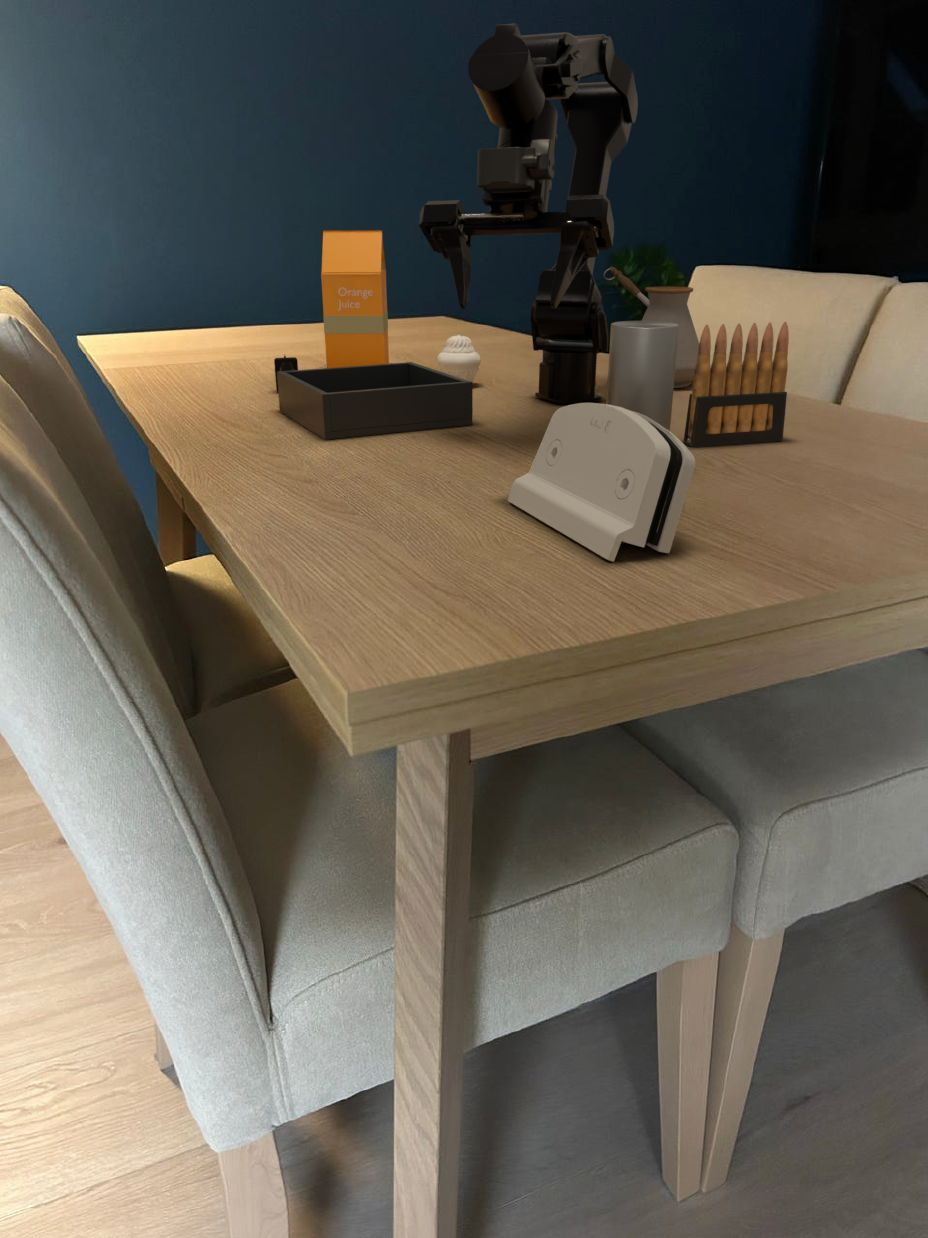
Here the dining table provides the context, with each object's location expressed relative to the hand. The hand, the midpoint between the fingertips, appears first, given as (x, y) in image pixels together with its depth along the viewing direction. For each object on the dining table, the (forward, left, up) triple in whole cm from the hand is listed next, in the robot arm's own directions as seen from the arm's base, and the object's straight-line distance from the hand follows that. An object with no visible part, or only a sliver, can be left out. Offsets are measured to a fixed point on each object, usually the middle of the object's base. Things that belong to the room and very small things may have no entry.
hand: (507, 306), depth 92 cm
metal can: (-7, +13, -14) cm, 20 cm away
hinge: (+6, +27, -14) cm, 31 cm away
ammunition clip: (-22, +9, -14) cm, 28 cm away
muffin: (-12, -36, -14) cm, 40 cm away
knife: (+10, -45, -14) cm, 48 cm away
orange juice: (-4, -55, -14) cm, 56 cm away
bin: (+7, -20, -14) cm, 25 cm away
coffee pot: (-38, -29, -14) cm, 50 cm away
